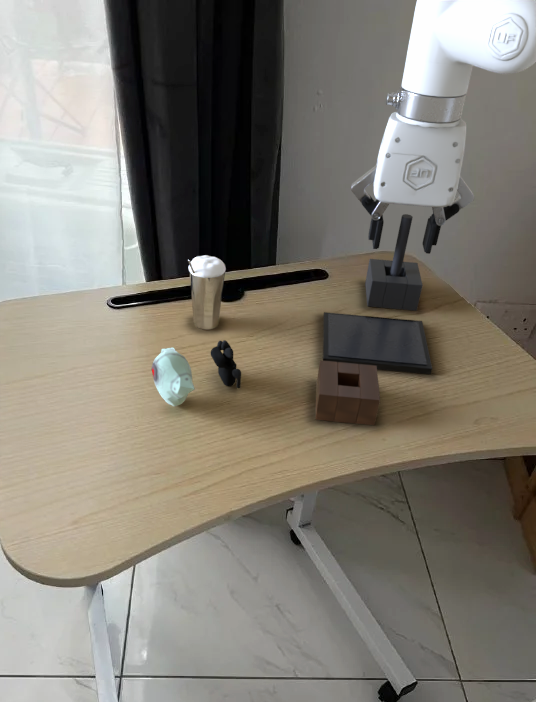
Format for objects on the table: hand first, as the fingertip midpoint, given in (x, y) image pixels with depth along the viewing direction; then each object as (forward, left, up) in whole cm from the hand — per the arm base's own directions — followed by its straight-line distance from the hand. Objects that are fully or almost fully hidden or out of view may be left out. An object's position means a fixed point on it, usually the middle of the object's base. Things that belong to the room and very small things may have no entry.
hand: (400, 245), depth 89 cm
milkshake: (+25, +12, -8) cm, 29 cm away
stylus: (0, 0, -8) cm, 8 cm away
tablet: (+3, +13, -8) cm, 15 cm away
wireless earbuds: (+21, +24, -8) cm, 33 cm away
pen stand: (+7, +26, -8) cm, 28 cm away
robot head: (+26, +29, -8) cm, 40 cm away
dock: (0, 0, -8) cm, 8 cm away
